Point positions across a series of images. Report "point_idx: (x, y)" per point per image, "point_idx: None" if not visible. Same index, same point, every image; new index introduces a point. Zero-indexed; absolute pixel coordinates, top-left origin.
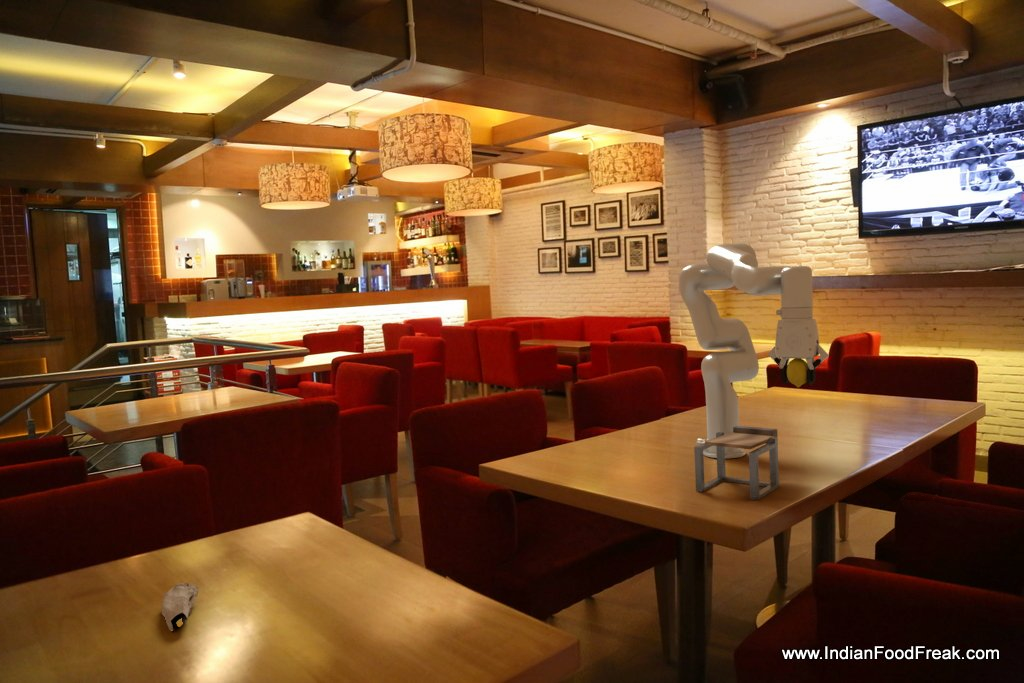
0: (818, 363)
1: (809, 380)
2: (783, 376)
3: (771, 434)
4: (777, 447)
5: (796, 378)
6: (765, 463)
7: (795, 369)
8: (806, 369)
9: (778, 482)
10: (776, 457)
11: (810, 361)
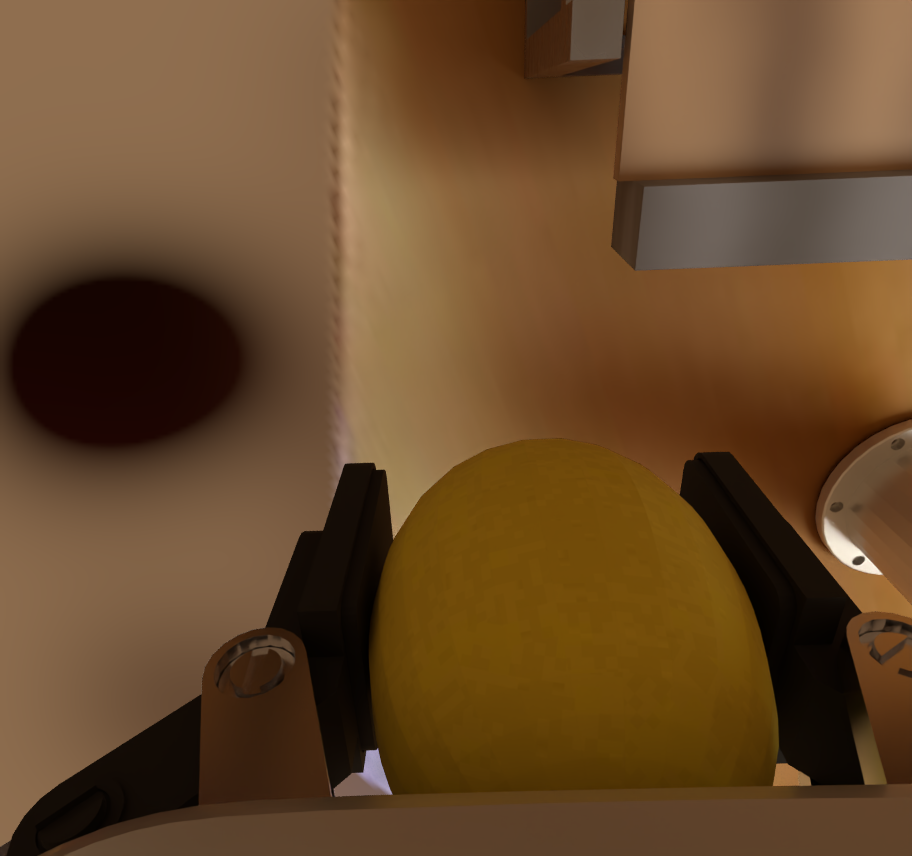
0: (86, 774)
1: (336, 493)
2: (755, 505)
3: (649, 181)
4: (557, 60)
5: (514, 449)
6: (701, 440)
7: (545, 536)
8: (374, 643)
9: (527, 72)
10: (547, 38)
11: (227, 789)
